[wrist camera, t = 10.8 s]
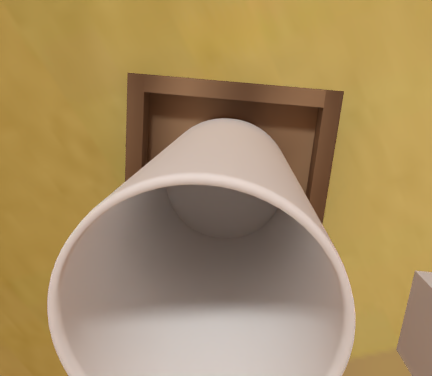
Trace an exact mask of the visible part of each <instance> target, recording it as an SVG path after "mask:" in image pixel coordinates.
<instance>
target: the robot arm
mask: <svg viewBox="0 0 432 376" xmlns="http://www.w3.org/2000/svg"><path fill="white" fill-rule="evenodd" d="M397 352H398V353H399V355H400V356H401V358H402V360H403V361H404V363H405V365H406V366H407V368H408V370H409V371H410V373H411V374H412V376H432V272H423V271H415V274H414V278H413V282H412V286H411V291H410V295H409V299H408V303H407V307H406V312H405V316H404V320H403V324H402V329H401V333H400V337H399V341H398V345H397Z"/></svg>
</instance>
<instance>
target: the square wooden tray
mask: <svg viewBox="0 0 432 376" xmlns="http://www.w3.org/2000/svg"><path fill="white" fill-rule="evenodd" d="M343 94H344V91H333V90H321V89H309V88H298V87H286V86H274V85H263V84H251V83H240V82H228V81H216V80H205V79H193V78H181V77H170V76H158V75H147V74H135V73H128V83H127V125H126V167H125V182H126V181H127V180H128V179H129V178H130V177H132V176H133V175H134V174H135V173H136V172H138V171H139V170H140V169H141V168H142V167H144V166H145V165H146V164H147V163H148V162H150V161H151V160H152V159H153V158H154V157H156V156H157V155H158V154H159V153H160V152H162V151H163V150H164V149H165V148H166V147H168V146H169V145H170V144H171V143H172V142H174V141H175V140H176V139H177V138H178V137H180V136H181V135H182V134H183V133H184V132H186V131H187V130H188V129H190V128H191V127H193V126H195V125H197V124H199V123H201V122H204V121H207V120H211V119H217V118H232V119H238V120H243V121H246V122H249V123H251V124H253V125H255V126H257V127H259V128H260V129H262V130H263V131H264V132H266V133H267V134H268V135H269V136H270V137H271V138H272V139H273V140H274V141H275V143H276V144H277V145H278V147H279V148H280V150H281V152H282V153H283V155H284V157H285V159H286V161H287V162H288V164H289V166H290V168H291V170H292V171H293V173H294V175H295V177H296V178H297V180H298V182H299V184H300V186H301V187H302V189H303V191H304V193H305V195H306V196H307V198H308V200H309V202H310V204H311V205H312V207H313V209H314V211H315V212H316V214H317V216H318V218H319V220H320V221H321V223H322V222H323V216H324V210H325V204H326V198H327V192H328V186H329V180H330V173H331V167H332V161H333V155H334V149H335V143H336V137H337V131H338V124H339V118H340V112H341V106H342V100H343Z"/></svg>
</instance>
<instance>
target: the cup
mask: <svg viewBox="0 0 432 376" xmlns="http://www.w3.org/2000/svg"><path fill="white" fill-rule="evenodd" d="M47 301H48V321H49V328H50V333H51V337H52V341H53V344H54V347H55V350H56V352H57V355H58V357H59V359H60V361H61V363H62V365H63V367H64V369H65V371H66V372H67V374H68V376H342V374H343V372H344V370H345V368H346V366H347V363H348V360H349V357H350V355H351V351H352V346H353V342H354V334H355V307H354V299H353V295H352V291H351V286H350V283H349V279H348V276H347V273H346V271H345V268H344V265H343V263H342V261H341V259H340V257H339V254H338V252H337V251H336V249H335V247H334V245H333V243H332V241H331V240H330V238H329V236H328V234H327V232H326V231H325V229H324V227H323V225H322V223H321V221H320V220H319V218H318V216H317V214H316V212H315V211H314V209H313V207H312V205H311V204H310V202H309V200H308V198H307V196H306V195H305V193H304V191H303V189H302V187H301V186H300V184H299V182H298V180H297V178H296V177H295V175H294V173H293V171H292V170H291V168H290V166H289V164H288V162H287V161H286V159H285V157H284V155H283V153H282V152H281V150H280V148H279V147H278V145H277V144H276V143H275V141H274V140H273V139H272V138H271V137H270V136H269V135H268V134H267V133H266V132H264V131H263V130H262V129H260V128H259V127H257V126H255V125H253V124H251V123H249V122H246V121H243V120H238V119H232V118H217V119H211V120H207V121H204V122H201V123H199V124H197V125H195V126H193V127H191V128H190V129H188V130H187V131H186V132H184V133H183V134H182V135H181V136H180V137H178V138H177V139H176V140H175V141H174V142H172V143H171V144H170V145H169V146H168V147H166V148H165V149H164V150H163V151H162V152H160V153H159V154H158V155H157V156H156V157H154V158H153V159H152V160H151V161H150V162H148V163H147V164H146V165H145V166H144V167H142V168H141V169H140V170H139V171H138V172H136V173H135V174H134V175H133V176H132V177H130V178H129V179H128V180H127V181H126V182H124V183H123V184H122V185H121V186H120V187H118V188H117V189H116V190H115V191H114V192H113V193H111V194H110V195H109V196H108V197H107V198H105V199H104V200H103V201H102V202H101V203H100V204H98V205H97V206H96V207H95V208H94V209H92V210H91V211H90V213H89V214H88V215H87V216H86V217H85V218H84V219H83V220H82V221H81V222H80V223H79V225H78V226H77V227H76V229H75V230H74V231H73V232H72V234H71V235H70V236H69V238H68V240H67V241H66V243H65V244H64V246H63V248H62V249H61V252H60V254H59V256H58V258H57V260H56V263H55V266H54V268H53V271H52V275H51V279H50V284H49V290H48V300H47Z"/></svg>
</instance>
